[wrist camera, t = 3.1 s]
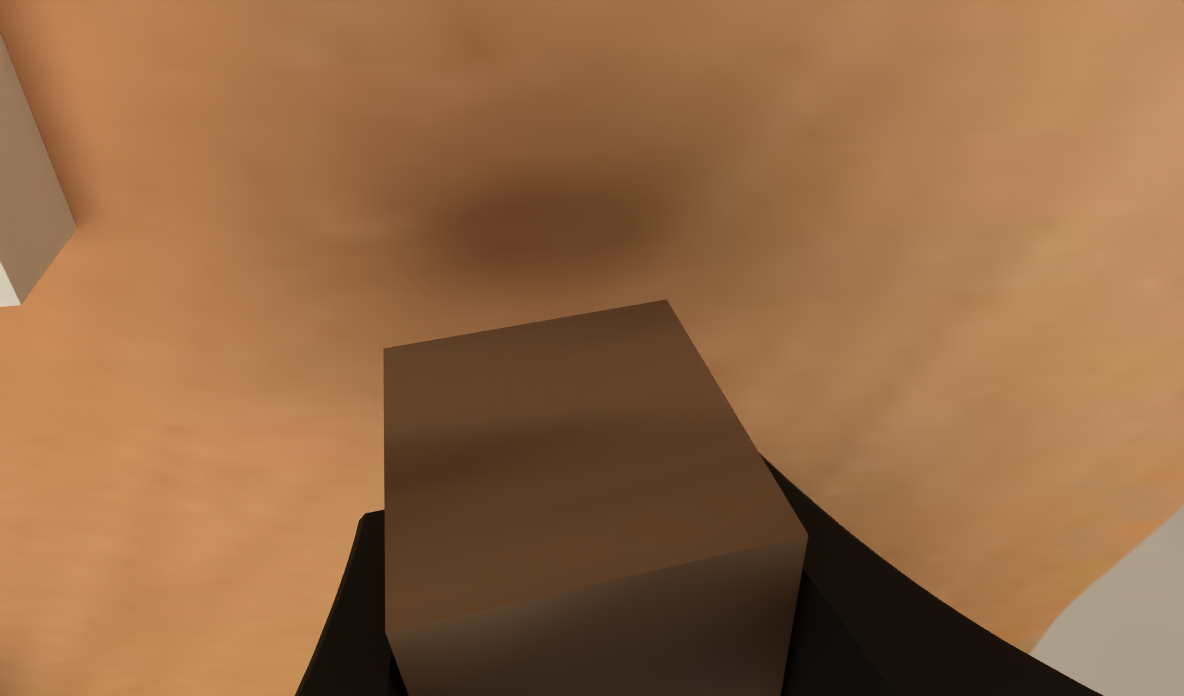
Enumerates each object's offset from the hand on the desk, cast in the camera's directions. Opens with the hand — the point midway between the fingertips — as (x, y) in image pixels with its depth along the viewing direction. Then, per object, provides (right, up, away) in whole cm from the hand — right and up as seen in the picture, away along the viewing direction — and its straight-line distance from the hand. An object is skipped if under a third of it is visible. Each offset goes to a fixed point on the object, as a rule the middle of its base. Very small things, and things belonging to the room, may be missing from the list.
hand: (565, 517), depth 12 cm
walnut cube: (0, +1, +1) cm, 2 cm away
